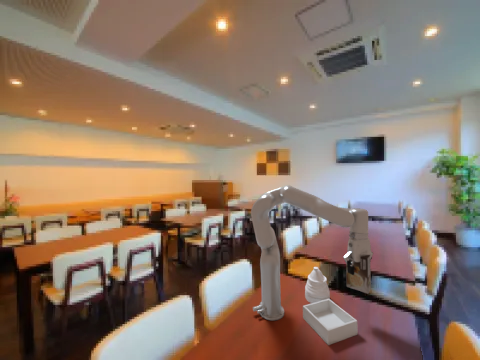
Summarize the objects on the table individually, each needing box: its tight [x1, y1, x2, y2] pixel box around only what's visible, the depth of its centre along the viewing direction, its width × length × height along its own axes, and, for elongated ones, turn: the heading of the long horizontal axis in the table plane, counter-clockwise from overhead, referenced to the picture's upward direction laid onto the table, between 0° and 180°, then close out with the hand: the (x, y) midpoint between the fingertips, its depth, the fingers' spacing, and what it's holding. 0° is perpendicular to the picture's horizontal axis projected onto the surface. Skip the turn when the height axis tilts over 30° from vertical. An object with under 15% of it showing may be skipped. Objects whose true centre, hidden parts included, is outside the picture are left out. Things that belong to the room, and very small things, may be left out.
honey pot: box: [304, 266, 331, 304], centre depth 112 cm, size 13×13×18 cm
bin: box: [302, 299, 359, 346], centre depth 92 cm, size 16×17×6 cm
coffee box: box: [345, 252, 372, 295], centre depth 94 cm, size 9×6×16 cm
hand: (358, 271), depth 94 cm, fingers closed on coffee box, 8 cm apart
